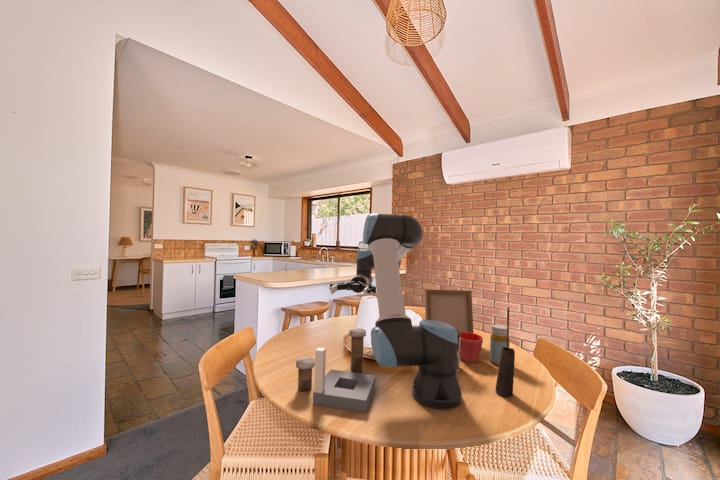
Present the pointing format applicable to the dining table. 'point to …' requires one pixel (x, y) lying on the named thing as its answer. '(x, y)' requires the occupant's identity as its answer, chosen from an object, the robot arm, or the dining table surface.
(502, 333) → the bottle
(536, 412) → the dining table surface
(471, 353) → the flower pot
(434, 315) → the photo frame
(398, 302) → the robot arm
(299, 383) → the short pin
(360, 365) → the long pin
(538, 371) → the dining table surface
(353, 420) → the dining table surface
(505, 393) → the walkie talkie
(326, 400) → the hole block
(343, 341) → the dining table surface
